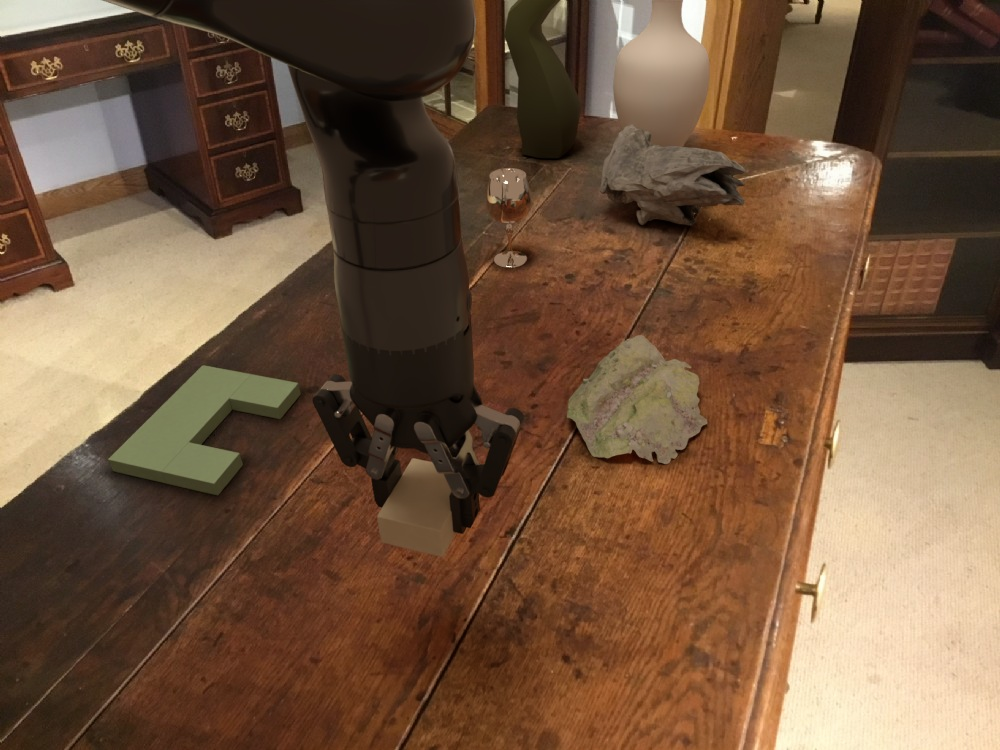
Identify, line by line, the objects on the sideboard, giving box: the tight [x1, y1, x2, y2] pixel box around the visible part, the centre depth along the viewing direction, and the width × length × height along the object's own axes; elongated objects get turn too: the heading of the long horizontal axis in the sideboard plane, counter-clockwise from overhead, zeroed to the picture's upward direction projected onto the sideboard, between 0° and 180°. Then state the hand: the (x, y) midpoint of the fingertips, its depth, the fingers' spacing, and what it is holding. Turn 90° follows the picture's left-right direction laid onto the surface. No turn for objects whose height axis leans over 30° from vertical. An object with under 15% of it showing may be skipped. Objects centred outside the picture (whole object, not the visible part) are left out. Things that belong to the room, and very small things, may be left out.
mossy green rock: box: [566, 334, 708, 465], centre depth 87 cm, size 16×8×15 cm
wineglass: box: [485, 167, 532, 269], centre depth 111 cm, size 6×6×12 cm
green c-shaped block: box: [107, 365, 302, 496], centre depth 87 cm, size 16×12×2 cm
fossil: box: [599, 125, 746, 227], centre depth 119 cm, size 20×18×15 cm
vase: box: [612, 0, 711, 147], centre depth 129 cm, size 14×14×28 cm
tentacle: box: [503, 0, 583, 159], centre depth 135 cm, size 9×12×30 cm
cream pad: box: [376, 457, 457, 558], centre depth 59 cm, size 6×5×3 cm
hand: (428, 515), depth 59 cm, fingers closed on cream pad, 4 cm apart
